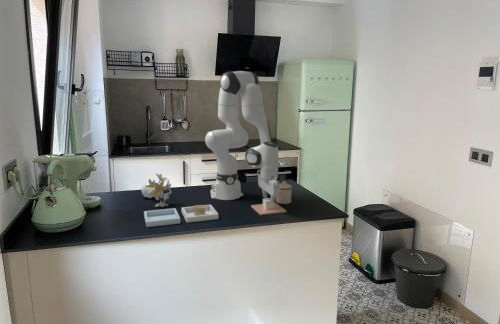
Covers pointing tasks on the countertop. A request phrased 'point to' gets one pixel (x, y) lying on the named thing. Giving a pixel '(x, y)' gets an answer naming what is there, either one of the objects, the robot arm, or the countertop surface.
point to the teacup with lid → (284, 193)
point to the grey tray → (190, 217)
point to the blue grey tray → (161, 217)
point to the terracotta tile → (263, 211)
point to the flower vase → (157, 190)
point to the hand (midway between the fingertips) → (268, 200)
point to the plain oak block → (199, 210)
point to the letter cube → (267, 204)
